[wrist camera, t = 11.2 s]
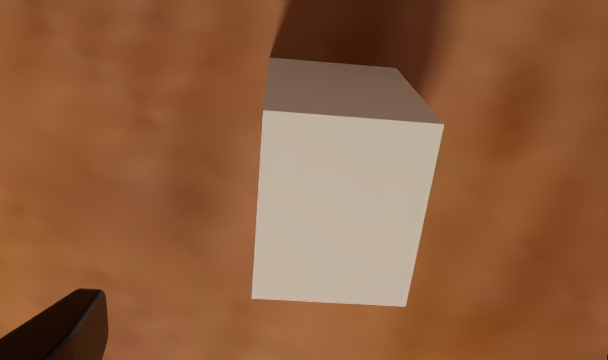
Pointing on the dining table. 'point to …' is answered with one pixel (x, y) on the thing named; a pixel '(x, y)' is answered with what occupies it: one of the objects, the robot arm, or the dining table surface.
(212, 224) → the dining table surface
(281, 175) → the block
